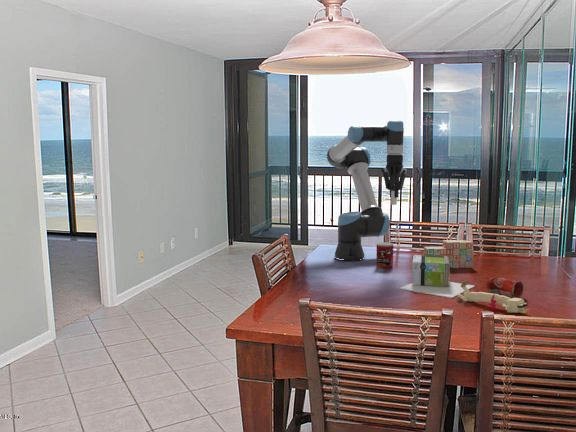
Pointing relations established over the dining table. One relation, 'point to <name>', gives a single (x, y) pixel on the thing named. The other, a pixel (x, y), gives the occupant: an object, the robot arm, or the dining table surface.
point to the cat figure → (493, 300)
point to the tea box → (430, 270)
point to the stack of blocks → (454, 252)
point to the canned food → (384, 255)
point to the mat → (438, 289)
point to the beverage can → (505, 287)
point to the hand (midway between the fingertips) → (393, 204)
